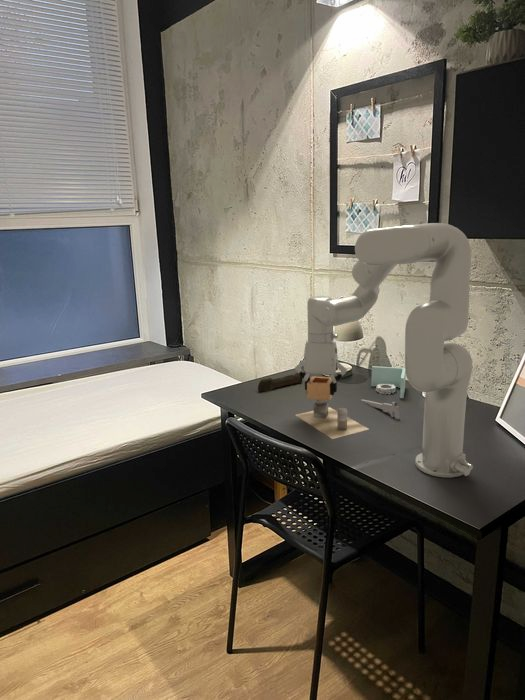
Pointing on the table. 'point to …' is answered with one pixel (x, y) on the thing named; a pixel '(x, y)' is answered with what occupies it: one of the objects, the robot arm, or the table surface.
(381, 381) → the l-shaped corner panel
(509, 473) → the table surface
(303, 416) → the board
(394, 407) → the caliper
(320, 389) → the collar
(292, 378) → the hand tool
